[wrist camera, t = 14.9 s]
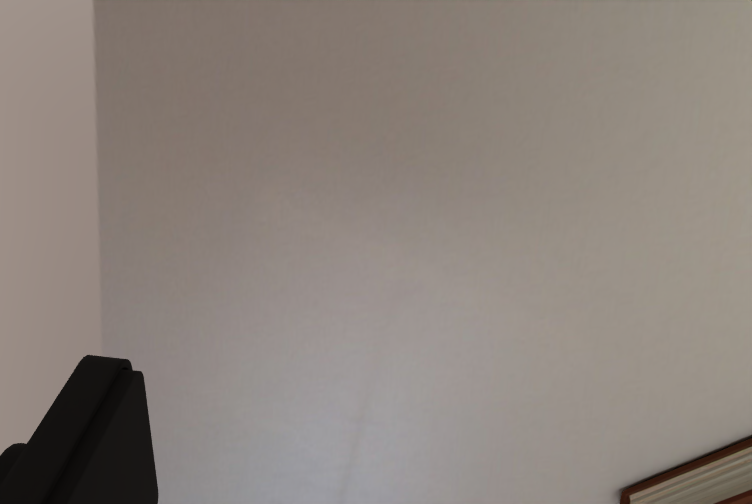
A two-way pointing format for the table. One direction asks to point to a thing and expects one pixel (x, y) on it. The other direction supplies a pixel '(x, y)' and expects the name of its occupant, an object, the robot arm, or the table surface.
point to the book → (701, 481)
